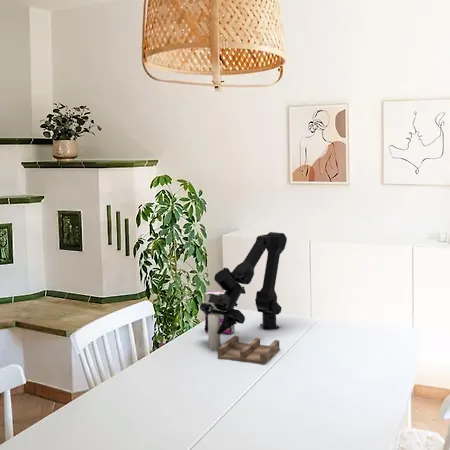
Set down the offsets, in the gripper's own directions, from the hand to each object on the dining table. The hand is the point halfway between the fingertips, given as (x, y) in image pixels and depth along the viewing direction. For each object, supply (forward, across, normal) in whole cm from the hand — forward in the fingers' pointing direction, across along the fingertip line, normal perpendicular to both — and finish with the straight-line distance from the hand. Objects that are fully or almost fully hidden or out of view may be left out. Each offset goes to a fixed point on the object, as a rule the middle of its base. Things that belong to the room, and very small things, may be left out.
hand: (211, 332), depth 224 cm
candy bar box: (-8, -12, +17) cm, 22 cm away
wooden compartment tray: (+1, +14, +8) cm, 16 cm away
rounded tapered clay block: (+4, 0, +6) cm, 7 cm away
